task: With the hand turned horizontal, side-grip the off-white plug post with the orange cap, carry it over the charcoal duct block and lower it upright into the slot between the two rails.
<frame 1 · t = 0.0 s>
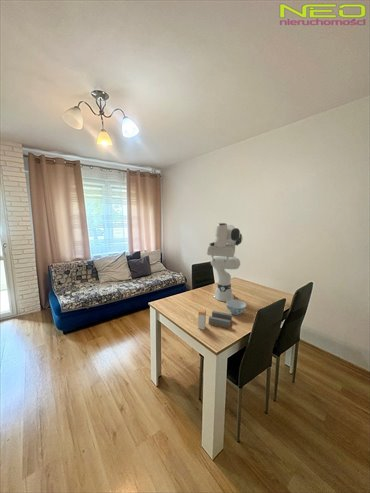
hand: (219, 262, 155), 39 cm above the table, tool pointing down, fingers open, 8 cm apart
plug post: (201, 327, 134), on the table
duct block: (220, 322, 142), on the table
chinaware: (235, 313, 155), on the table
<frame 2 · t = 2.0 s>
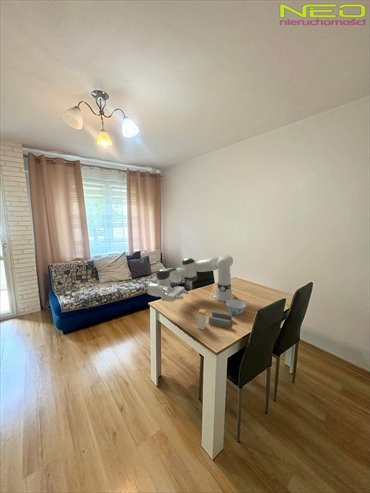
hand: (185, 295, 136), 21 cm above the table, tool horizontal, fingers open, 8 cm apart
nothing on the table moved.
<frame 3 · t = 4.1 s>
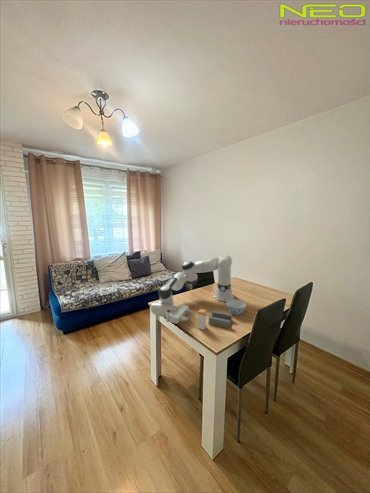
hand: (190, 315, 136), 7 cm above the table, tool horizontal, fingers open, 8 cm apart
nothing on the table moved.
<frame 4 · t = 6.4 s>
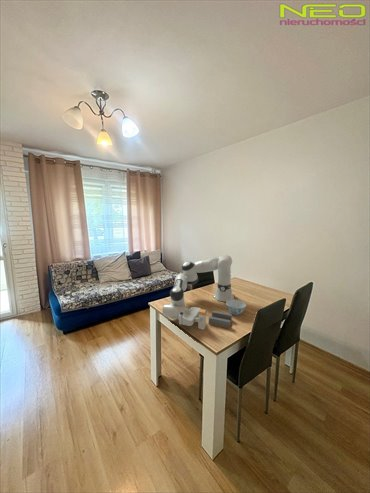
hand: (203, 318, 133), 7 cm above the table, tool horizontal, fingers closed on plug post, 4 cm apart
plug post: (201, 327, 134), on the table, touching gripper
everything else where it was.
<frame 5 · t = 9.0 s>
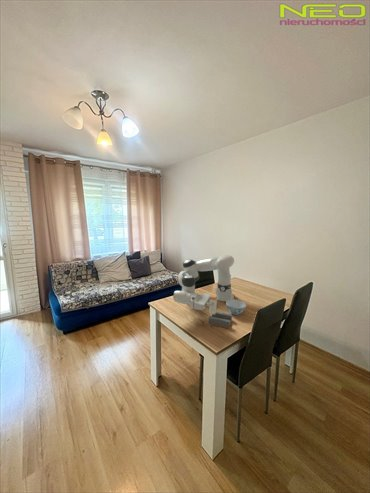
hand: (214, 303, 135), 16 cm above the table, tool horizontal, fingers closed on plug post, 4 cm apart
plug post: (212, 312, 137), point 9 cm above the table, touching gripper
everything else where it was.
when the fingers open (10 cm above the table, at t = 11.8 s): plug post drops 1 cm, resting on duct block.
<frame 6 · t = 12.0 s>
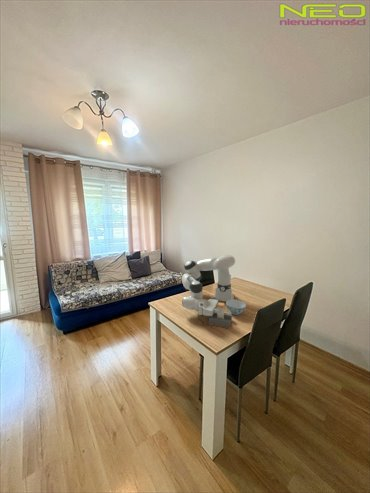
hand: (222, 309, 140), 10 cm above the table, tool horizontal, fingers open, 6 cm apart
plug post: (220, 320, 141), point 1 cm above the table, touching duct block
everything else where it was.
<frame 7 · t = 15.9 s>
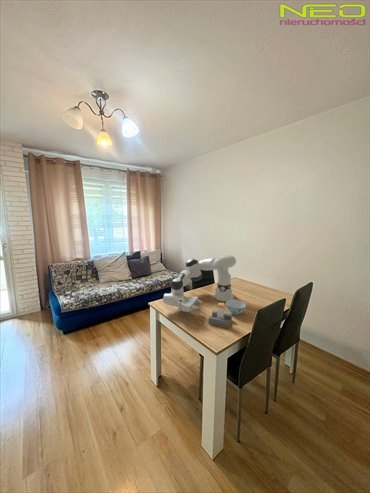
hand: (200, 305, 146), 10 cm above the table, tool horizontal, fingers open, 8 cm apart
nothing on the table moved.
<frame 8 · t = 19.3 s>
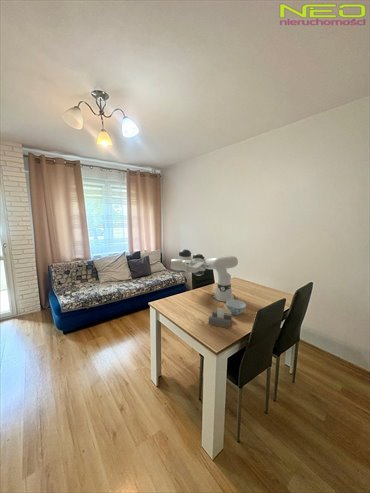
hand: (207, 267, 148), 36 cm above the table, tool horizontal, fingers open, 8 cm apart
nothing on the table moved.
at the end: plug post inside the target area on the duct block (0.0 cm from its centre), point 1.5 cm above the duct block's base; plug post tilted 0°; the gripper is holding nothing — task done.
